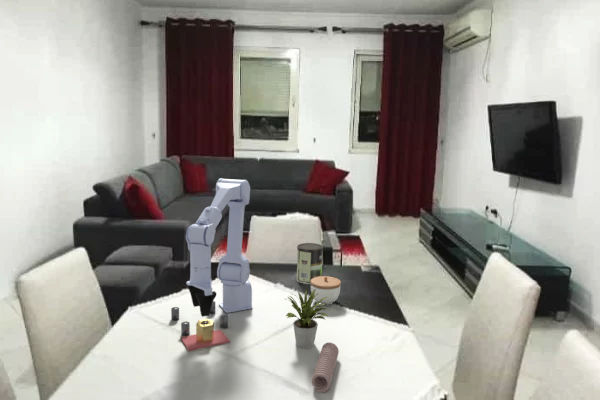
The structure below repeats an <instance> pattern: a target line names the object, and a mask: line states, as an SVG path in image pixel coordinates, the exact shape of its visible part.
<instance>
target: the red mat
mask: <svg viewBox="0 0 600 400" xmlns="http://www.w3.org/2000/svg"><path fill="white" fill-rule="evenodd" d="M180 340H181V341H182V343H183V345H184V347H185V349H187V351H188V352H192V351H196V350H201V349H206V348H211V347H215V346H219V345H224V344H229V343H230V342H231V341H230V340H231V339H229V338H228V337H227V335H226V334H225V333H224V331H223V330H222V328H220V329H214V338H213V340H212V341H211V342H206V343H201V342H198V341H196V334H191V335H188V336H181V337H180Z"/></svg>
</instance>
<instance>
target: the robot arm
mask: <svg viewBox="0 0 600 400" xmlns="http://www.w3.org/2000/svg"><path fill="white" fill-rule="evenodd" d="M250 196H251V186H250V183H249V181H248V180H247V179H233V178H231V179H230V178H223V177H221V178H218V180H217V181H216V184H215V195H214V197H213V200H212V202H211V204H210V206H207V207H205V208H204V209H203V211H202V212H201V214H200V215H199V217H198V219H197V220H196V222H194V223H193V224H191V225H189V226H188V227H187V229H186V233H185V240H186V243H187V249H188V251H189V254H190V256H189V257H190V258H189V260H190V266H189V267H190V269H189V271H190V273H189V275H190V277H189V280H188V281H186V283H185V284H186V287H187V289H188V291H189V293H190V297H191V302H192V305H193V307H194V308H195V307H199V310H200V315H201V317H202V318H203V317H204V318H205V317H208V316H210V315H211V314H210V310H211V306H212V303H213V301H215V298H216V297H217V292H216V291H215V290H213V287H212V283H213V282H212V281H213V279H212V268H211V267H212V257H211V255H212V252H211V251H212V248H211V247H212V246H211V245H212V244H213V243H214V240H215V235H216V232H217V231H216V229H217V227H218V225H219V223H220V222H221V220H222V217H223V216H222V215H223V214H222V212H223V210H224V209H225V207H226V206H228V207H229V211H228V213H229V214H228V228H227V230H228V232H227V243H226V254H224V255H222V256H221V257H220V259H219V262H218V266H217V268H216V269H217V270H216V276H217V278H218V280H219V281H220V284H222V302H219V303H218V306H219V307H220V309H222V310H223V311H224V312H225V313H226V314H229V313H235V312H239V311H245V310H246V311H247V310H250V309H253V289H252V282H250V280H249V279H250V273H251V269H250V259H248V258H247V257H246V256H245V255H244V254H243V253H242V250H243V237H244V235H243V233H244V222H245V221H244V219H245V208H246V206H247V205H249V204H250V199H251V198H250ZM237 263H239V264H237Z"/></svg>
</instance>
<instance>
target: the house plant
mask: <svg viewBox="0 0 600 400" xmlns="http://www.w3.org/2000/svg"><path fill="white" fill-rule="evenodd" d="M315 291H316V289H315V290H313V291H312V293H310V295H309V297H308V295H307V294H308V289H307V288H306V289H305V292H304V298H303V296H302V294H301V293H300V292H299V291H297V294H298V297H299V298H298V297H297V295H295V297H296V298H297V299H298V302H299V303H300V306H299V305H298V302H296V300H295V299H294V298H293V296H294V294H291V295H292V296H290V295H288V296H287V298H285V300H287V301H288V300H289V302H290V303H291V307H292V308H294V310H296V312H297V313H298V315H299V317H300V318H299V317H298V316H297V315H296V314H294V313H293V312H288V313H287V314H285V317H286V319H288V318H297V319H295V320H294V321H293V322H292V323H293V324H292V325H293V330H294V339H295V344H296V346H297V347H299V348H304V349H307V348H308V349H309V348H311V347H313V346H314V345H315V340H316V335H317V331H318V326H319V324H318V322H317V321H316V319H321V320H326V318H325V317H324V316H326V317H327V318H328V317H329V316H328V314H327V313H325V312H320V311H324V310H329V311H332V309H330V308H327V307H322V306H326V305H325V304H319V303H320V302H321V301H322V300H323V299H325V298H327V297H325V298H322V299H321V300H320V301H318V302H316V303H315V304H314V305H313V301H314V300H315V299H314V298H315V297H316V296H317V294H316V295H315V296H314V293H315ZM307 297H308V298H307Z"/></svg>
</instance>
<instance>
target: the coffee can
mask: <svg viewBox="0 0 600 400" xmlns="http://www.w3.org/2000/svg"><path fill="white" fill-rule="evenodd" d="M296 248H297V252H296V256H297V257H296V265H297V266H296V281H297V283H300V284H302V283H303V285H311V279H312V278H315V277H319V276H323V252H324V251H323V250H324V246H323V245H321V244H319V243H314V242H305V243H299V244H298V245H297V246H296Z"/></svg>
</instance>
